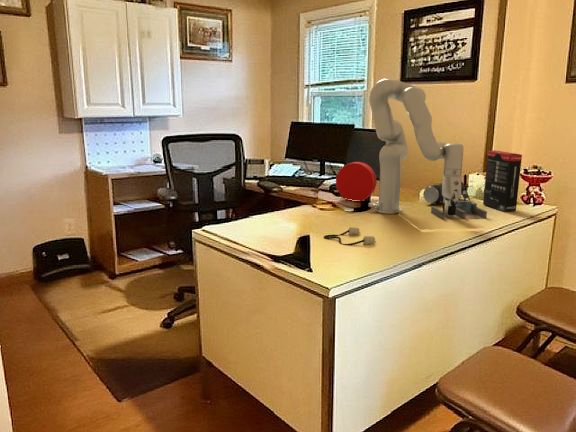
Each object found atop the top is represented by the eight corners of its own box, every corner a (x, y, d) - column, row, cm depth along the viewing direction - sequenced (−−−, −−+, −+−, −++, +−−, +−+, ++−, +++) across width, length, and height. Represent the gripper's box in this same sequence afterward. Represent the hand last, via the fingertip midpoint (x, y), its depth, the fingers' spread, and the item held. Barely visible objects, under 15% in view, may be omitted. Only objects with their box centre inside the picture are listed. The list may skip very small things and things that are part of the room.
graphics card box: (517, 211, 223) (523, 153, 216) (504, 212, 221) (510, 153, 215) (493, 204, 239) (499, 149, 233) (481, 205, 237) (486, 150, 231)
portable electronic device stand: (476, 212, 223) (478, 194, 221) (459, 210, 225) (460, 193, 223) (476, 208, 231) (477, 191, 229) (458, 207, 233) (460, 190, 231)
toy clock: (375, 201, 246) (377, 162, 241) (372, 203, 241) (374, 164, 236) (338, 198, 254) (339, 160, 249) (335, 200, 249) (336, 162, 244)
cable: (338, 249, 167) (338, 240, 166) (320, 237, 182) (321, 228, 181) (378, 245, 172) (378, 236, 171) (357, 233, 187) (358, 225, 186)
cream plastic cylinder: (446, 217, 208) (447, 199, 206) (442, 215, 211) (444, 197, 210) (454, 217, 208) (456, 199, 206) (451, 214, 212) (452, 197, 210)
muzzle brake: (464, 199, 252) (466, 180, 249) (438, 207, 232) (440, 186, 230) (447, 197, 258) (449, 178, 256) (421, 204, 239) (422, 184, 237)
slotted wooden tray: (442, 221, 204) (443, 208, 202) (429, 214, 217) (430, 201, 216) (487, 221, 205) (488, 207, 204) (472, 213, 219) (473, 200, 218)
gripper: (469, 175, 197) (465, 217, 202) (452, 169, 214) (449, 209, 218) (452, 175, 197) (448, 218, 201) (436, 169, 213) (433, 209, 217)
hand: (448, 213), depth 209 cm, fingers open, 4 cm apart
